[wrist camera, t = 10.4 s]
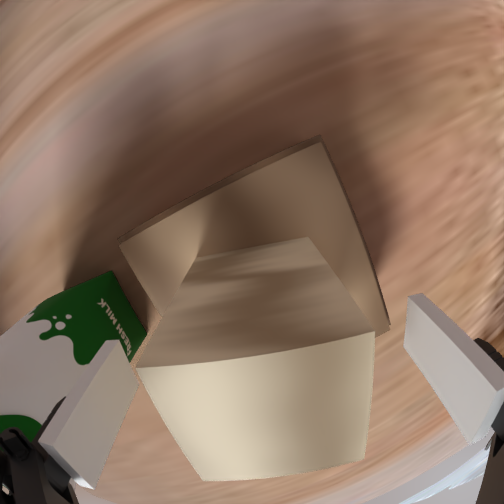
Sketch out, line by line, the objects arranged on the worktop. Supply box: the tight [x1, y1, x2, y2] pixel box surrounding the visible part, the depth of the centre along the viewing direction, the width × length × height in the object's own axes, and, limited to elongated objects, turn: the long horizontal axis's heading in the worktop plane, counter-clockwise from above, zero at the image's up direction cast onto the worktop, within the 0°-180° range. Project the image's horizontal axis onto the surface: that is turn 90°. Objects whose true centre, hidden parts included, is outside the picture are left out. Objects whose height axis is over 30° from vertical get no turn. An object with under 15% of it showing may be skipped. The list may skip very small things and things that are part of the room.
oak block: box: [135, 237, 375, 481], centre depth 13 cm, size 6×6×10 cm
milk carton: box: [0, 271, 147, 492], centre depth 16 cm, size 9×9×20 cm
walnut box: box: [118, 135, 391, 338], centre depth 21 cm, size 14×14×7 cm
